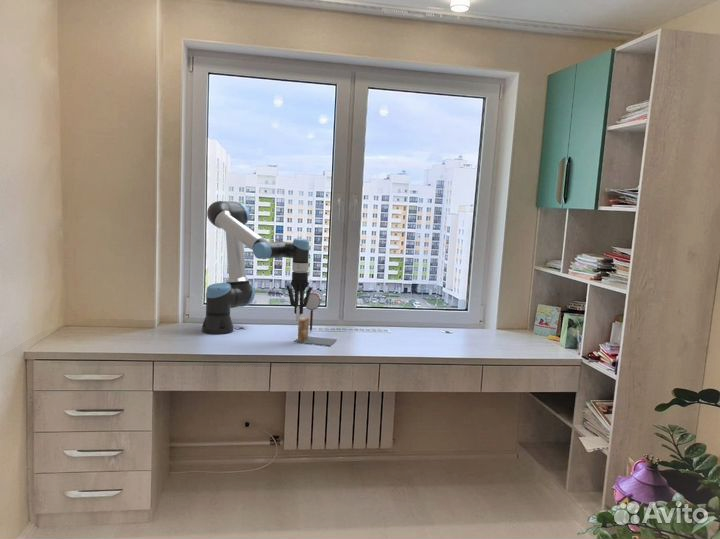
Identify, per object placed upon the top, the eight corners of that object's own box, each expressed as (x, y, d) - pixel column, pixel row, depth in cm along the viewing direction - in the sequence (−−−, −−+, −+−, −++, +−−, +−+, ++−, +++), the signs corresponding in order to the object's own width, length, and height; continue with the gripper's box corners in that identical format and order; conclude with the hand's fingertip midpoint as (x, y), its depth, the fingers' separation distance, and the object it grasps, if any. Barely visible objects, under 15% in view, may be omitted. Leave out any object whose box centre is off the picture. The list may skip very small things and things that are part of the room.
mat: (293, 342, 245) (293, 341, 245) (301, 336, 257) (301, 335, 257) (330, 346, 242) (330, 345, 242) (336, 340, 254) (336, 339, 253)
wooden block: (297, 340, 246) (298, 320, 245) (302, 337, 253) (302, 317, 252) (303, 341, 246) (304, 320, 245) (308, 338, 253) (308, 317, 251)
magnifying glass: (319, 331, 271) (320, 293, 269) (319, 331, 269) (321, 293, 267) (302, 330, 270) (304, 292, 267) (302, 331, 268) (304, 293, 266)
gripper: (284, 271, 244) (282, 320, 246) (311, 273, 241) (309, 323, 244) (289, 269, 251) (288, 317, 254) (315, 271, 249) (313, 320, 251)
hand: (298, 320), depth 249 cm, fingers closed
